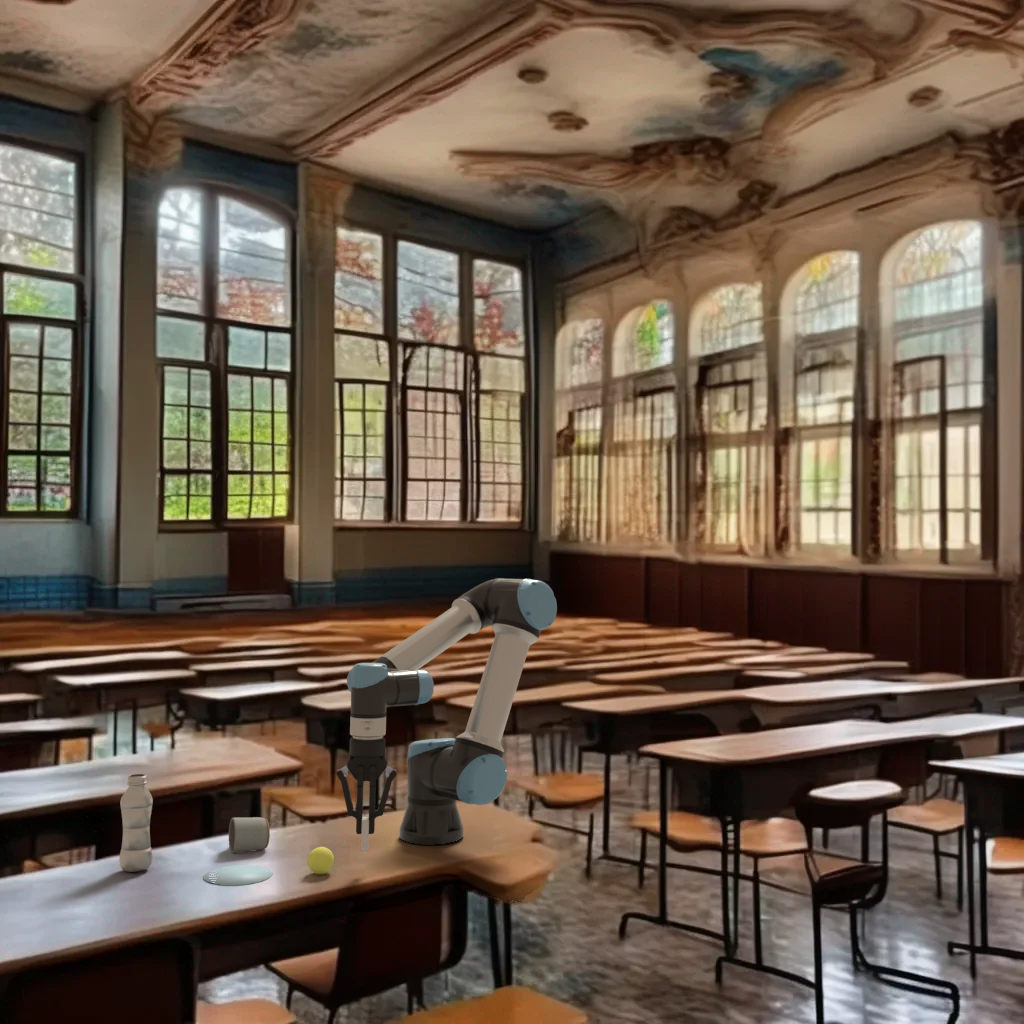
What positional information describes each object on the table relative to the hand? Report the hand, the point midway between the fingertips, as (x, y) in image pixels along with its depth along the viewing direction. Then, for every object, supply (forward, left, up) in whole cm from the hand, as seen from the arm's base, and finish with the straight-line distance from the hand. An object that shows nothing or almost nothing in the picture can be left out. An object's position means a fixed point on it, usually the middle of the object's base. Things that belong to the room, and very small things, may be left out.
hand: (364, 849), depth 234 cm
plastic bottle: (+48, -5, -5) cm, 49 cm away
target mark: (+26, 0, -5) cm, 27 cm away
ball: (+9, 0, -2) cm, 9 cm away
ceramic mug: (+27, -21, -5) cm, 35 cm away
